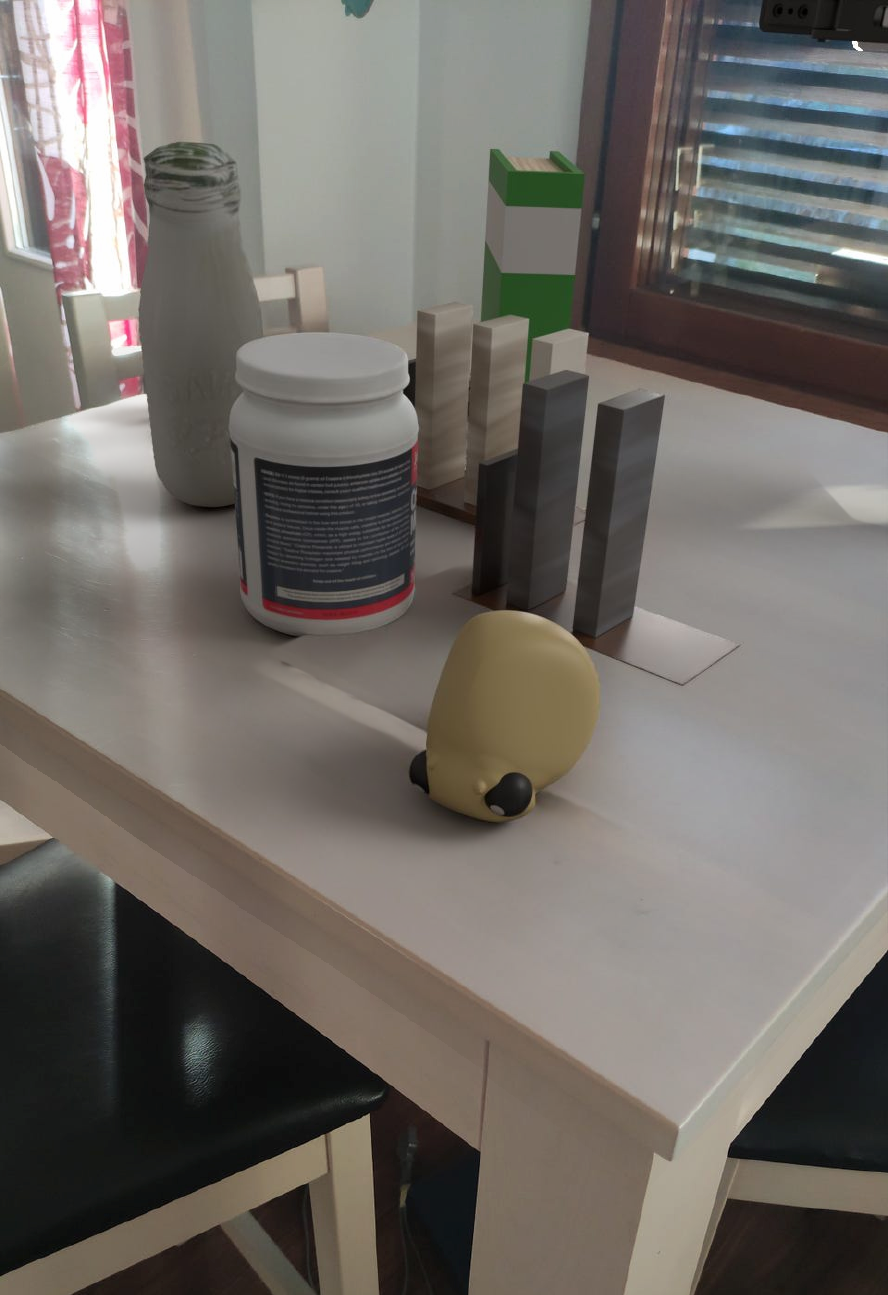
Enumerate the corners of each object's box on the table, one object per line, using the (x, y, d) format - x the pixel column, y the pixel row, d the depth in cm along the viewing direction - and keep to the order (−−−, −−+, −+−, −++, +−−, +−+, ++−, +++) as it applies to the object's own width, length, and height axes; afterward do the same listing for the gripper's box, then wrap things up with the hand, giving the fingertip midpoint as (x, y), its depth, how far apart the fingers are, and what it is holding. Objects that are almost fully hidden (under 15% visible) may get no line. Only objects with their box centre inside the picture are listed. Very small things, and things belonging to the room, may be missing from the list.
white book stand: (598, 524, 102) (620, 334, 93) (544, 550, 97) (563, 351, 88) (426, 467, 112) (431, 291, 103) (369, 487, 107) (369, 304, 98)
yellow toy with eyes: (430, 806, 73) (348, 766, 63) (502, 629, 73) (432, 563, 64) (569, 860, 68) (503, 825, 59) (645, 671, 69) (592, 607, 59)
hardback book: (477, 376, 139) (490, 148, 125) (539, 378, 139) (558, 151, 126) (491, 423, 124) (507, 171, 111) (560, 424, 125) (584, 174, 111)
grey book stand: (738, 657, 83) (787, 417, 73) (680, 698, 78) (725, 446, 68) (514, 573, 93) (532, 353, 83) (450, 605, 88) (461, 374, 78)
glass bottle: (158, 526, 98) (118, 149, 82) (157, 483, 106) (120, 132, 90) (276, 521, 100) (259, 151, 84) (266, 479, 108) (249, 135, 92)
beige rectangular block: (570, 512, 102) (589, 332, 93) (536, 527, 98) (552, 343, 90) (551, 506, 103) (568, 328, 94) (517, 521, 99) (532, 338, 91)
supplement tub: (450, 611, 87) (461, 358, 76) (317, 666, 79) (310, 393, 69) (336, 557, 94) (333, 319, 84) (205, 603, 86) (183, 346, 76)
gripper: (1129, -54, 66) (858, -59, 74) (1051, -68, 57) (752, -72, 65) (1082, 100, 70) (831, 78, 78) (1003, 109, 61) (728, 84, 69)
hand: (796, 10), depth 72 cm, fingers open, 8 cm apart
